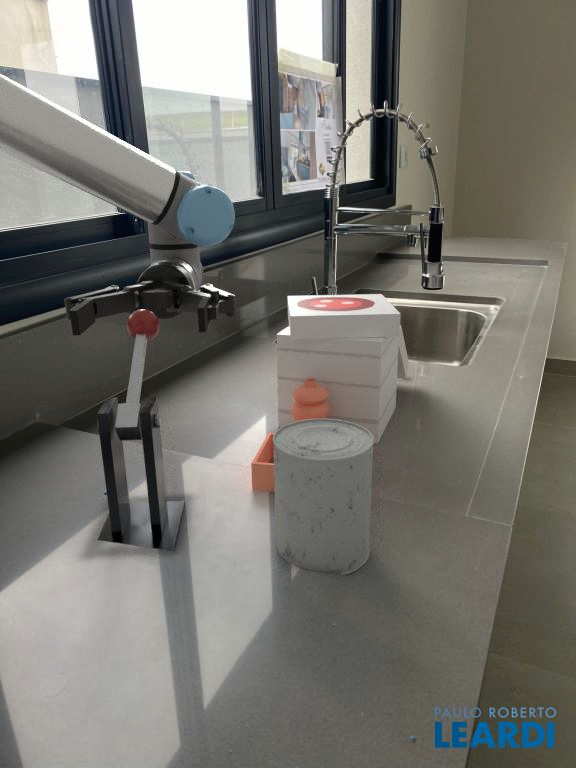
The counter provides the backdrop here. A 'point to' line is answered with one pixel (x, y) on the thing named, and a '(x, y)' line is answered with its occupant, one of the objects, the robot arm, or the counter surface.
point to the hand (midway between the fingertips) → (138, 321)
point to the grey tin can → (323, 494)
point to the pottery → (305, 407)
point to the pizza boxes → (343, 357)
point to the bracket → (158, 516)
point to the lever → (136, 374)
